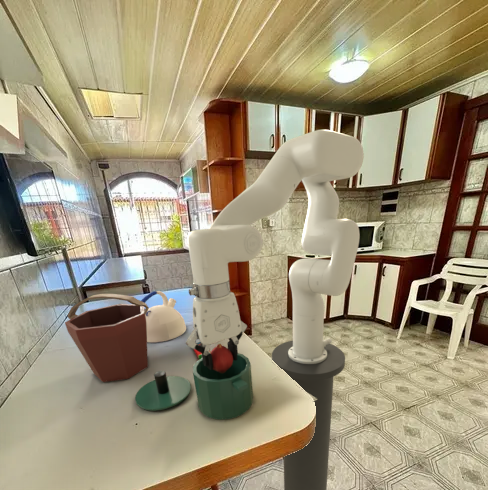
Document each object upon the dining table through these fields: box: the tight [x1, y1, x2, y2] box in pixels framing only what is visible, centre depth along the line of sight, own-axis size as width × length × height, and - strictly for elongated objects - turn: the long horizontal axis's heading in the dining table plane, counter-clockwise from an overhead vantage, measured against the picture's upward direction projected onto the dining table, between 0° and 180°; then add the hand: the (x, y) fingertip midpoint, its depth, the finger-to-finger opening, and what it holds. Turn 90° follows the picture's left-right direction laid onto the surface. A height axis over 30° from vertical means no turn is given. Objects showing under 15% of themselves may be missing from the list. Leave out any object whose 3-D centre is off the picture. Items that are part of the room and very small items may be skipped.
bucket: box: [64, 293, 150, 383], centre depth 83 cm, size 24×22×25 cm
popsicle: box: [191, 341, 212, 360], centre depth 92 cm, size 4×2×15 cm
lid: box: [134, 370, 192, 412], centre depth 72 cm, size 15×15×7 cm
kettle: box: [140, 290, 187, 344], centre depth 111 cm, size 20×21×18 cm
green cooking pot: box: [192, 352, 254, 421], centre depth 66 cm, size 14×19×10 cm
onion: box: [210, 343, 233, 373], centre depth 64 cm, size 6×6×8 cm
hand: (221, 362), depth 64 cm, fingers closed on onion, 5 cm apart
